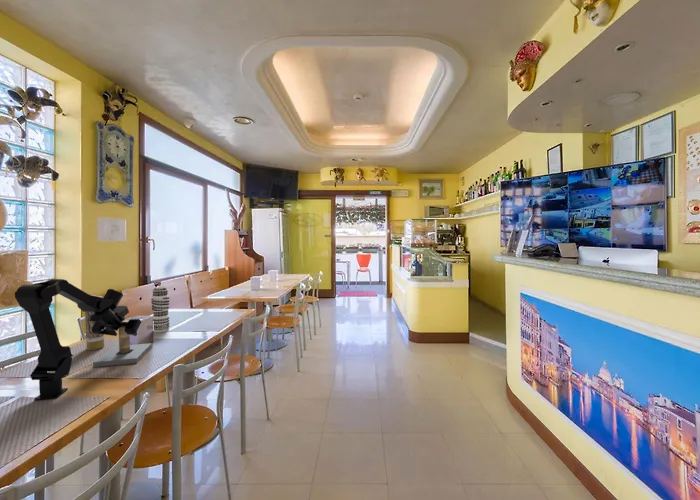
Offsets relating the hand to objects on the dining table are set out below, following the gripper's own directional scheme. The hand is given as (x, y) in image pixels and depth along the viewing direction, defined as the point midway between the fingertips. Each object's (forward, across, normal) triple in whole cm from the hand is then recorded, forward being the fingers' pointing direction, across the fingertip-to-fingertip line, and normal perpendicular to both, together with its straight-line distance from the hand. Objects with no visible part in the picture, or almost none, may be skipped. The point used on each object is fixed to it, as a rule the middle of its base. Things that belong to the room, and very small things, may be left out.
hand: (126, 335), depth 147 cm
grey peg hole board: (+6, 0, +8) cm, 9 cm away
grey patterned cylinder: (+13, +22, 0) cm, 25 cm away
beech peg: (+6, 0, +8) cm, 9 cm away
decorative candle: (+34, +8, -21) cm, 41 cm away
